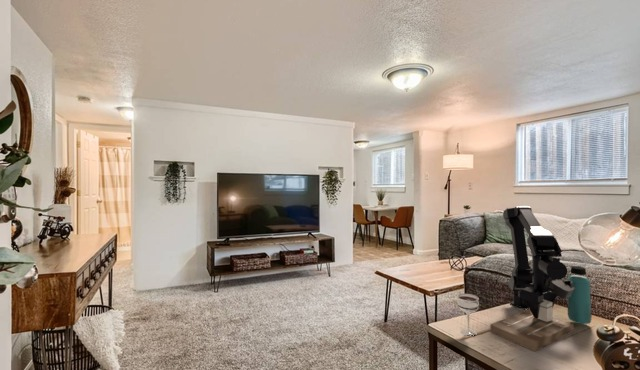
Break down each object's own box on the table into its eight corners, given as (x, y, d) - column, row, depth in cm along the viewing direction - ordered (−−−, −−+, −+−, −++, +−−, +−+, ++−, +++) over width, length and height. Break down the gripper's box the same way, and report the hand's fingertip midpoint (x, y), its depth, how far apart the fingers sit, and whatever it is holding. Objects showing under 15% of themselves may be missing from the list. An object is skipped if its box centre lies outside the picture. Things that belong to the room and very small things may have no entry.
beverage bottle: (596, 329, 106) (595, 270, 105) (573, 327, 107) (573, 269, 107) (584, 320, 112) (583, 264, 112) (563, 319, 114) (562, 264, 113)
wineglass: (484, 333, 105) (483, 298, 105) (471, 339, 102) (471, 302, 102) (465, 325, 111) (464, 292, 111) (453, 331, 108) (452, 296, 107)
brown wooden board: (528, 315, 117) (528, 308, 117) (573, 331, 105) (573, 323, 105) (490, 331, 107) (490, 324, 106) (534, 351, 94) (534, 342, 94)
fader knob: (538, 314, 112) (538, 297, 112) (552, 319, 108) (552, 302, 108) (533, 317, 110) (532, 300, 110) (547, 322, 106) (547, 304, 106)
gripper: (554, 281, 97) (554, 331, 97) (583, 271, 106) (584, 317, 106) (517, 272, 107) (517, 317, 107) (547, 263, 116) (547, 305, 116)
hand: (542, 314), depth 109 cm, fingers open, 8 cm apart
